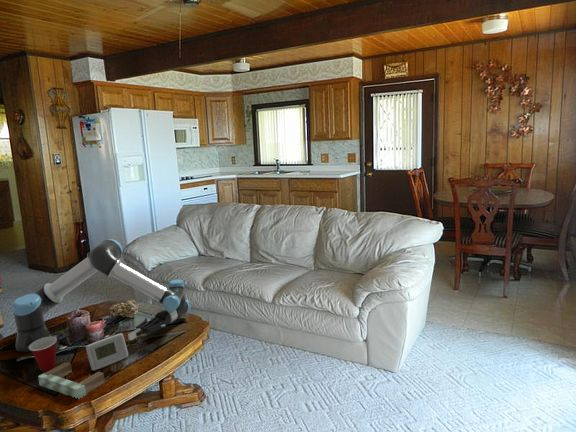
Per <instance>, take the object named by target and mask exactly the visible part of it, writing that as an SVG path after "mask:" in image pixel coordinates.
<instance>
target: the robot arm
mask: <svg viewBox="0 0 576 432" xmlns="http://www.w3.org/2000/svg"><path fill="white" fill-rule="evenodd" d="M123 251H124V249H123V247H122V245H121V243H120V242H119V241H118V240H115V239H112V238H109V239H105V240H103V241H101V242H100V243H99V244H98V245H97V246H95V247H93V248H92V249H91V250H90V251H88V253H87V255H86V256H87V257H85V258H84V259H83V260H82V261H80V262H79V263H77V264H76V265H75V266H73V267H72V268H70V269H69V270H68V271H67V272H65V273H64V274H63V275H60V277H58V278H57V279H56V280H54V281H53V282H52V283H51V282H47V283H45V284H44V285H43V286H41V287H40V288H37V289H36V291H34V292H33V293H29V294H23V295H22V296H19V297H18V298H16V299H15V300H14V301H13V303H12V312H13V316H14V317H13V318H14V321H15V322H14V323H15V326H16V332H17V333H16V338H15V350H16V351H18V352H22V353H24V352H32V351H31V350H30V349H29V345H30V344H31V343H33V342H35V341H36V340H39V339H41V338H45V337H51V336H52V334H51V332H50V331H49V329H48V328H47V326H46V323H45V317H44V316H45V315H46V314H47V313H48V312H50V311H51V310H52V309H54V308H55V307H56V306H57V305H59V304H60V303H61V302H63V299H64V297H65V296H66V295H67V294H68V293H70V292H71V291H73V290H74V289H75V288H77V287H78V286H79V285H81V284H82V283H83V282H85V281H86V280H88V279H89V278H90V277H92V276H93V275H94V274H96V273H97V272H99V273H101V274H103V275H104V276H107V277H108V278H111V277H112V278H114V279H117V280H118V281H119V282H122V283H124V284H125V285H127V286H129V287H131V288H133V289H135V290H136V291H138V292H140V293H142V294H144V295H145V296H147V297H149V298H151V299H153V300H154V301H156V302H157V303H160V304H161V305H162V307H163V310H160V311H159V312H157V313H156V314H155V316H154V317H152V318H150V319H148V318H144V320H143V321H142V322H140V323H139V324H138V325H136V326H135V330H133V331H131V332H129V333H128V334H127V337H128V339H127V340H128V341H133V340H134V339H135V338H138V337H139V336H141V335H144V334H146V335H149V334H151V333H153V332H156V331H158V330H160V329H164V328H166V326H169V324H171V323H173V322H174V321H176V320H178V319H179V318H182V317H184V316H186V314H188V313H190V311H191V308H192V305H191V303H190V301H189V300H188V299H186V293H185V283H184V281H183V279H178V278H177V279H172V280H170V281H168V288H167V287H166V286H164V285H162V284H160V283H158V281H155V280H153V279H151V278H150V277H148V276H146V275H144V274H142V273H140V272H139V271H137V270H136V269H133V268H132V267H130V266H128V265H126V264H125V263H123V262H122V261H121V258H122V255H123Z"/></svg>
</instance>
